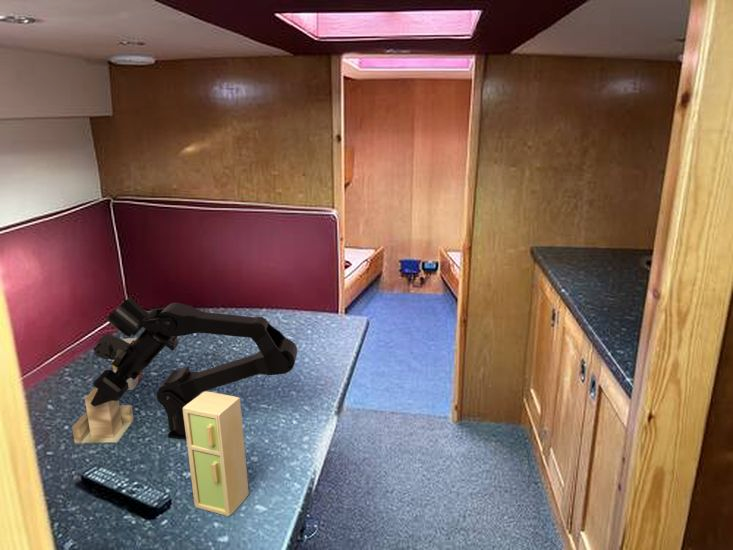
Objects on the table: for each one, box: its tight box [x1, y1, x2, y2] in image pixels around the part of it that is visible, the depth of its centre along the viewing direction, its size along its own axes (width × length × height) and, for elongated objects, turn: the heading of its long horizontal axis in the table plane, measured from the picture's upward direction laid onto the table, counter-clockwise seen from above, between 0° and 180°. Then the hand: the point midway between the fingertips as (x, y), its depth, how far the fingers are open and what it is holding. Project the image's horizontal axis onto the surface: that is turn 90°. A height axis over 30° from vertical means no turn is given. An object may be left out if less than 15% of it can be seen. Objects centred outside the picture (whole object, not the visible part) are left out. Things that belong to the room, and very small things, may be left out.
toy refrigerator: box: [183, 390, 250, 517], centre depth 102 cm, size 8×7×21 cm
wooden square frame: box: [71, 404, 134, 444], centre depth 128 cm, size 10×10×4 cm
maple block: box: [84, 387, 122, 438], centre depth 127 cm, size 5×5×10 cm
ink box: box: [111, 337, 143, 391], centre depth 150 cm, size 9×5×12 cm, turn 6°
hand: (101, 394), depth 126 cm, fingers open, 9 cm apart
